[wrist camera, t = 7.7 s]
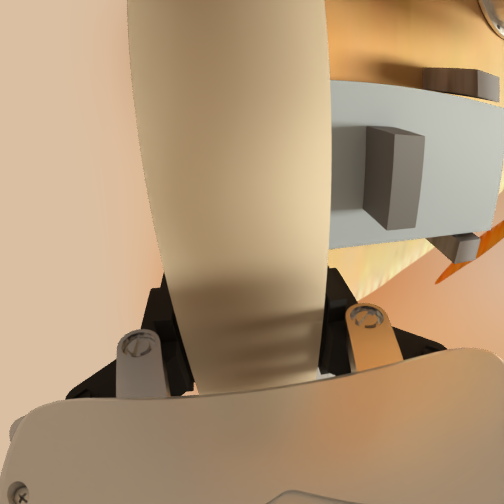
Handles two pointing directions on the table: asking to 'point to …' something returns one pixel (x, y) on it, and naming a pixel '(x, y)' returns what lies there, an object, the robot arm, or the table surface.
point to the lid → (411, 164)
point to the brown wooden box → (471, 86)
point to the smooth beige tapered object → (238, 179)
